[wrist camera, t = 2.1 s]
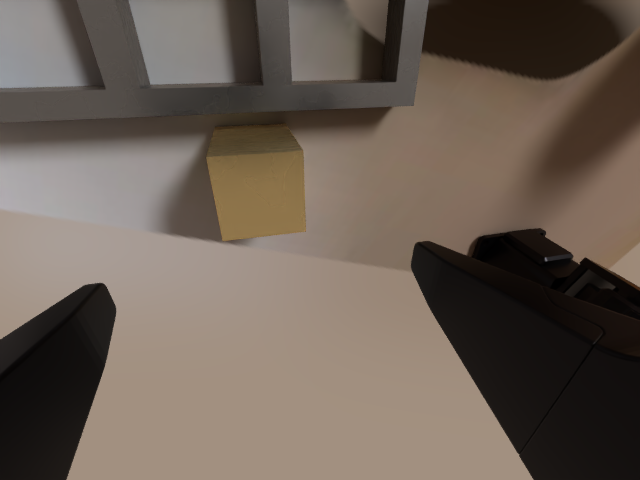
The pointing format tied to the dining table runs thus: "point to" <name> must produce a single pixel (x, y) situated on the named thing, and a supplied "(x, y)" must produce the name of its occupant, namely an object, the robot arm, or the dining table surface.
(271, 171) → the brass block
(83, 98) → the grey flat frame
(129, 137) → the dining table surface
